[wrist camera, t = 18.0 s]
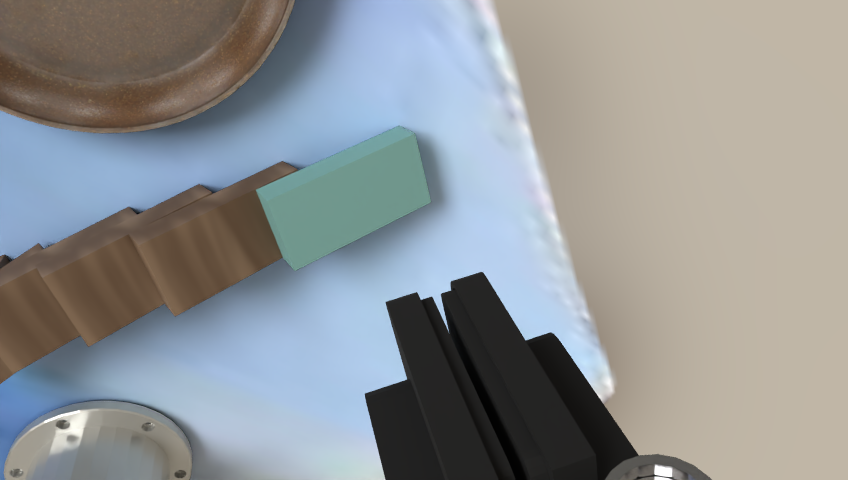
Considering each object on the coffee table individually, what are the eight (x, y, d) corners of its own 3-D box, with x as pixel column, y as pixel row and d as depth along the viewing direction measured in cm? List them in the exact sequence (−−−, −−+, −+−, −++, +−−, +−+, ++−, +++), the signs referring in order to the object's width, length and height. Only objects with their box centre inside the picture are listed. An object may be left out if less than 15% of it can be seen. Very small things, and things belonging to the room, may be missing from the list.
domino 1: (138, 215, 39) (-41, 307, 34) (174, 281, 41) (13, 373, 37) (128, 206, 40) (-45, 293, 36) (164, 270, 43) (7, 358, 38)
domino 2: (211, 192, 39) (42, 277, 35) (242, 259, 42) (88, 346, 37) (199, 183, 40) (34, 265, 36) (229, 249, 43) (79, 332, 39)
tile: (415, 192, 44) (283, 257, 41) (399, 125, 42) (255, 189, 38) (431, 202, 43) (294, 270, 40) (415, 133, 40) (267, 200, 37)
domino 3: (297, 168, 40) (138, 245, 35) (319, 237, 42) (175, 316, 38) (282, 161, 41) (128, 233, 37) (304, 227, 44) (163, 302, 39)
